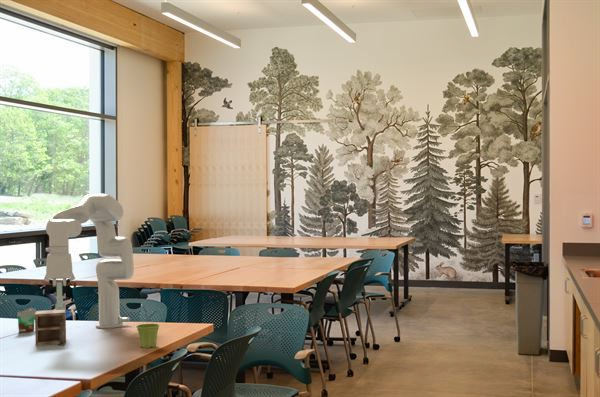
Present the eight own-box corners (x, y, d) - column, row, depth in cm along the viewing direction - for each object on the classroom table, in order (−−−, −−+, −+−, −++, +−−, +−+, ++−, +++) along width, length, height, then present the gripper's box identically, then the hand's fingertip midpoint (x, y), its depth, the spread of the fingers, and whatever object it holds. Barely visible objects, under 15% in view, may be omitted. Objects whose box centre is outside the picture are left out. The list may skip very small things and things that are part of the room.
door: (64, 307, 310) (64, 282, 312) (54, 307, 309) (53, 282, 311) (65, 310, 324) (65, 286, 326) (55, 310, 323) (55, 286, 325)
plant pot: (154, 349, 311) (154, 327, 311) (132, 348, 313) (132, 327, 313) (163, 344, 320) (163, 323, 320) (142, 344, 322) (141, 323, 322)
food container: (30, 333, 351) (30, 311, 351) (17, 333, 351) (17, 311, 351) (40, 328, 364) (40, 307, 364) (27, 329, 364) (27, 307, 364)
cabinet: (66, 339, 335) (65, 309, 335) (65, 345, 322) (64, 314, 322) (36, 341, 332) (36, 311, 332) (34, 347, 319) (34, 315, 319)
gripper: (38, 251, 310) (38, 297, 310) (79, 250, 315) (79, 295, 315) (39, 250, 318) (39, 295, 318) (79, 249, 322) (80, 293, 322)
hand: (59, 295), depth 316 cm, fingers closed on door, 2 cm apart
